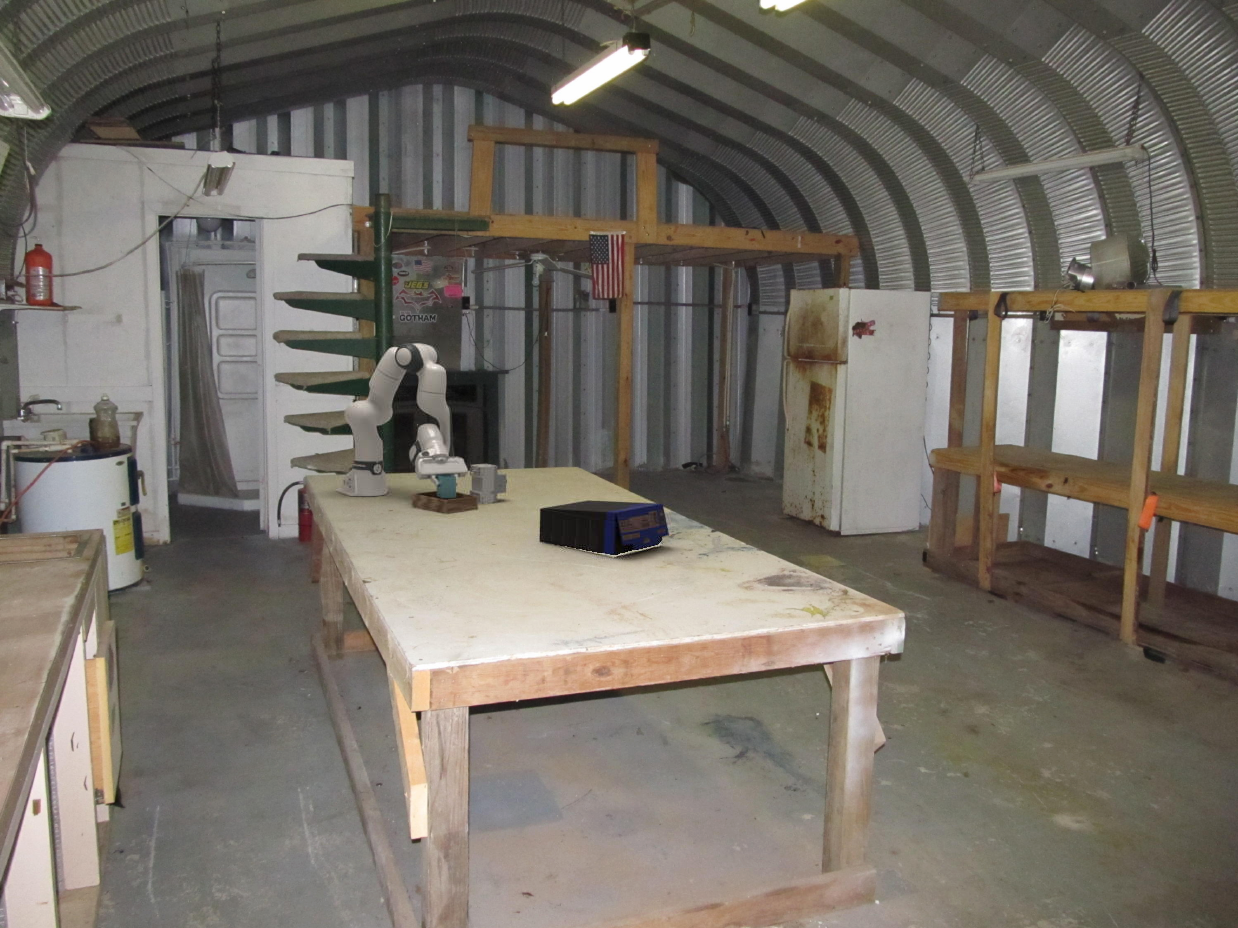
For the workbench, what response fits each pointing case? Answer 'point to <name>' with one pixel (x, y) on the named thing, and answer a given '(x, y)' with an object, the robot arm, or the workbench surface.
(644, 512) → the black and blue box
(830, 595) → the workbench surface
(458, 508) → the walnut crate
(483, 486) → the circuit breaker
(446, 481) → the teal crate
